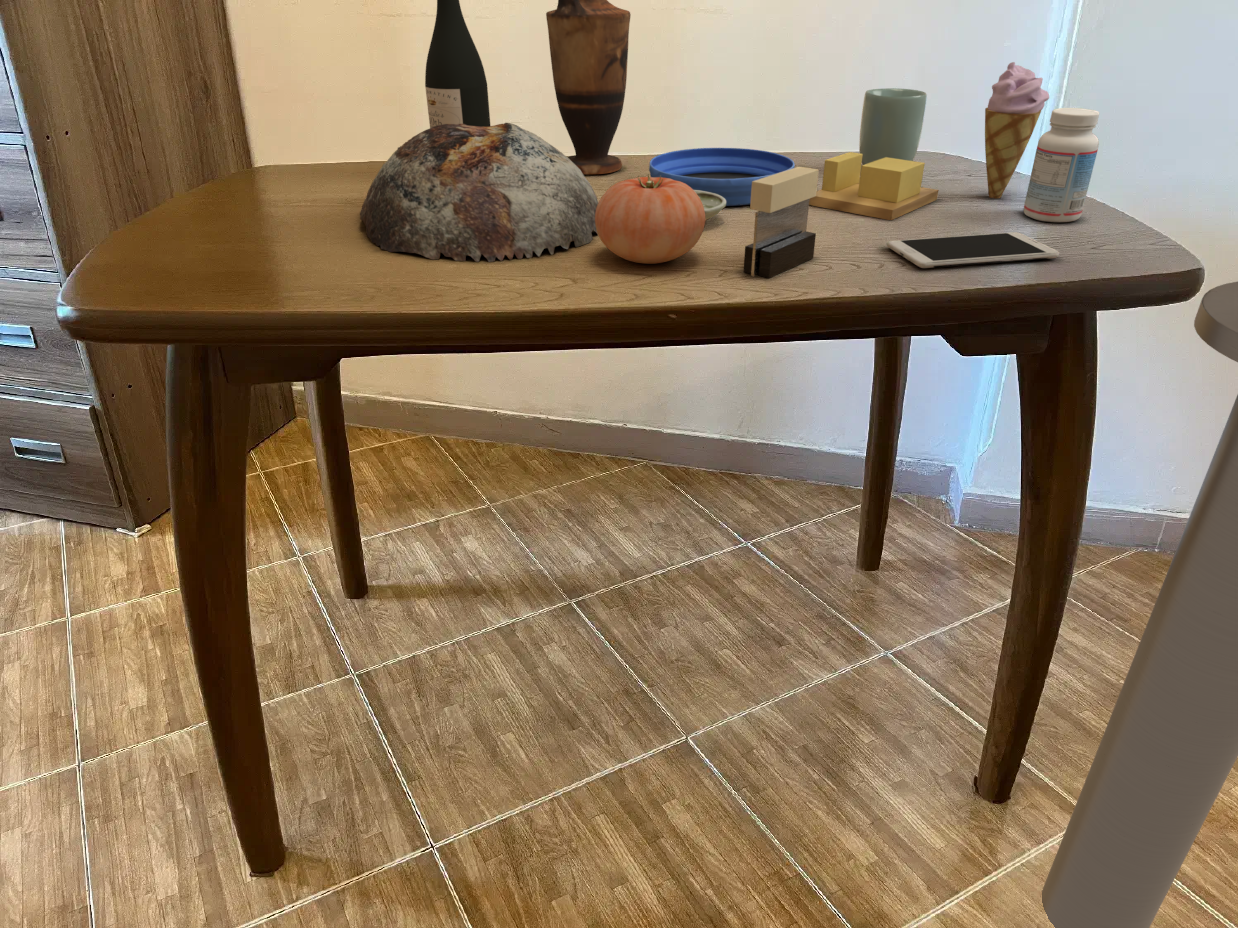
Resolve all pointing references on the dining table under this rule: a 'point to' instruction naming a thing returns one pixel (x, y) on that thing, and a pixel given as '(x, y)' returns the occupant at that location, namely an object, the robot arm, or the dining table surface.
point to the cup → (891, 124)
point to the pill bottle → (1063, 166)
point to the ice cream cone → (1010, 123)
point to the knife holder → (782, 254)
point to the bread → (478, 195)
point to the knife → (781, 207)
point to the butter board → (871, 202)
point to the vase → (590, 76)
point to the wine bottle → (455, 72)
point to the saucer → (711, 203)
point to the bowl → (720, 170)
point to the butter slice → (841, 171)
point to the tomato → (650, 219)
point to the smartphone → (971, 249)
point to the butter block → (890, 179)
